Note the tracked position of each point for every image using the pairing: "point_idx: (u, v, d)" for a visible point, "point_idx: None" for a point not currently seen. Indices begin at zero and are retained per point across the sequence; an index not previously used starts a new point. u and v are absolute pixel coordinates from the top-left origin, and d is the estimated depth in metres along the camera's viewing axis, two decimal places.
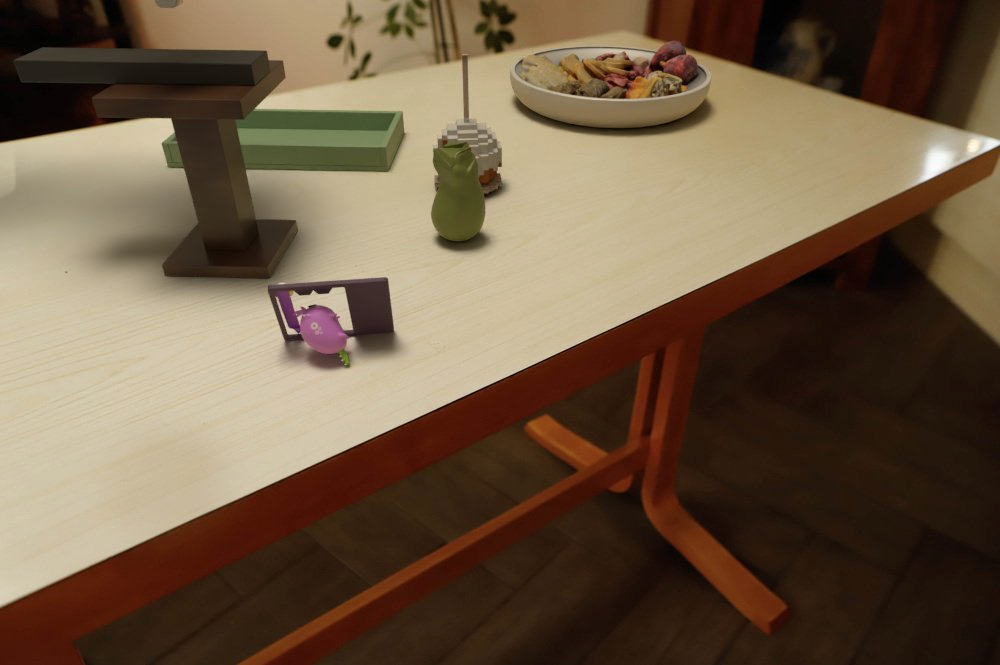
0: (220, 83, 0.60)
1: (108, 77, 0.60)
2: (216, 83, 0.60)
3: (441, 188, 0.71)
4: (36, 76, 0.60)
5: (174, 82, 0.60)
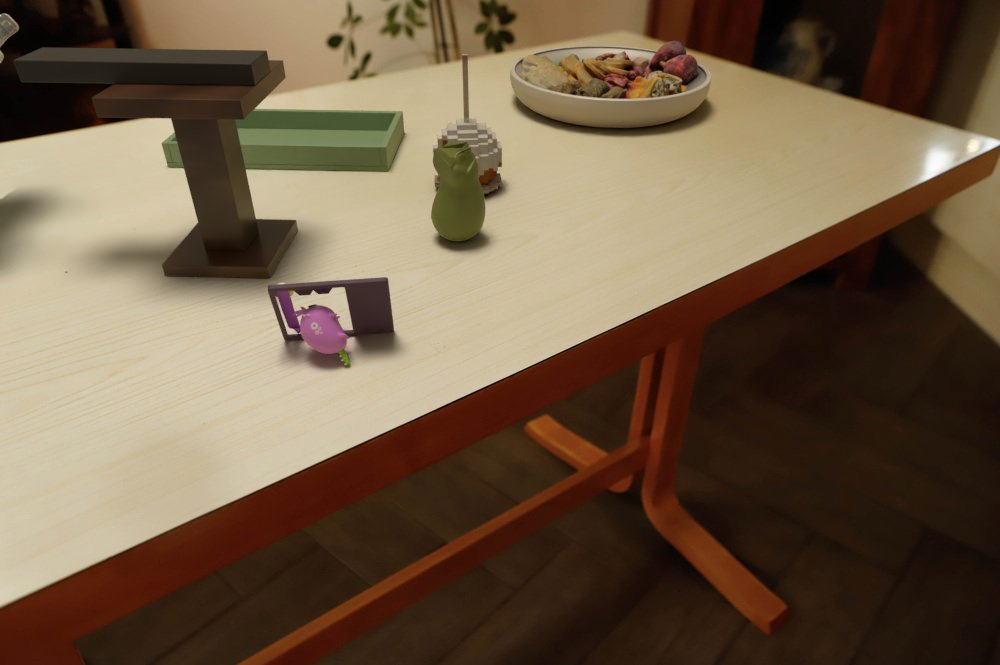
0: (220, 83, 0.60)
1: (108, 77, 0.60)
2: (216, 83, 0.60)
3: (441, 188, 0.71)
4: (36, 76, 0.60)
5: (174, 82, 0.60)
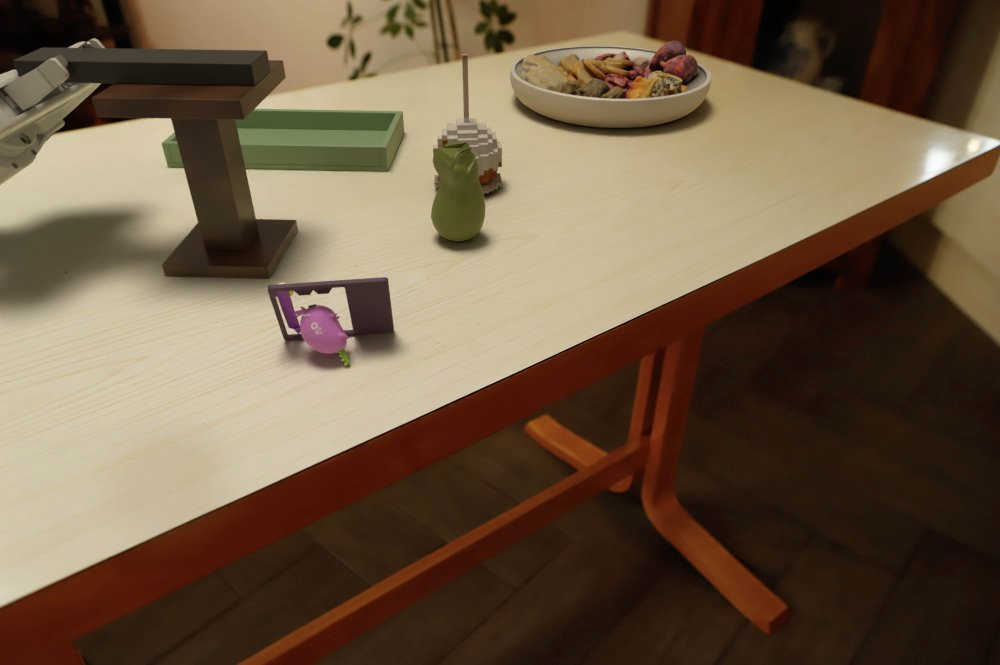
0: (220, 83, 0.60)
1: (108, 77, 0.60)
2: (216, 83, 0.60)
3: (441, 188, 0.71)
4: None
5: (174, 82, 0.60)
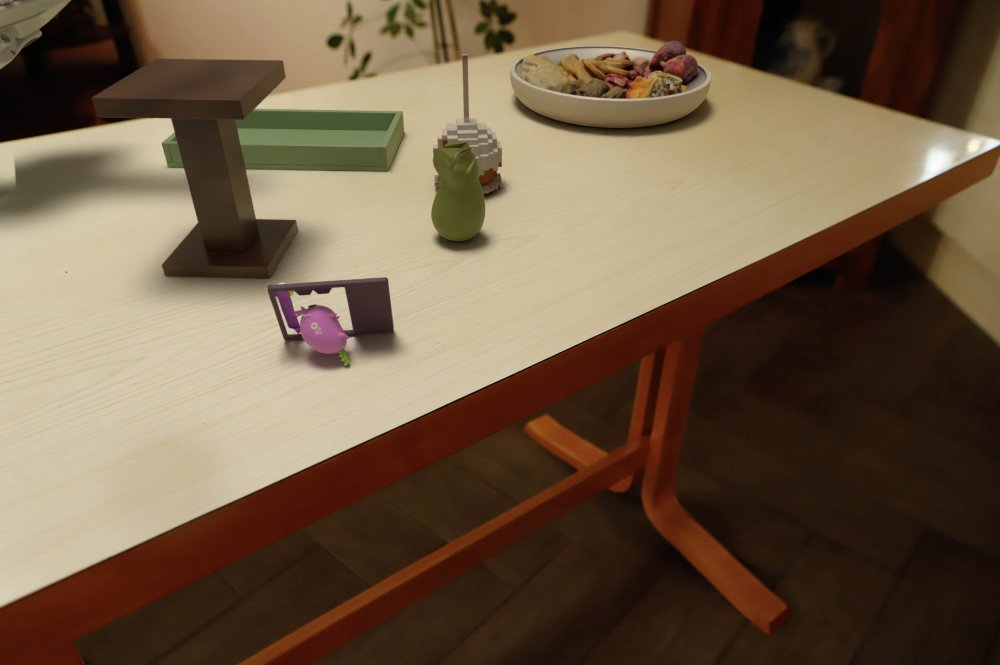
0: None
1: None
2: None
3: (441, 188, 0.71)
4: None
5: None
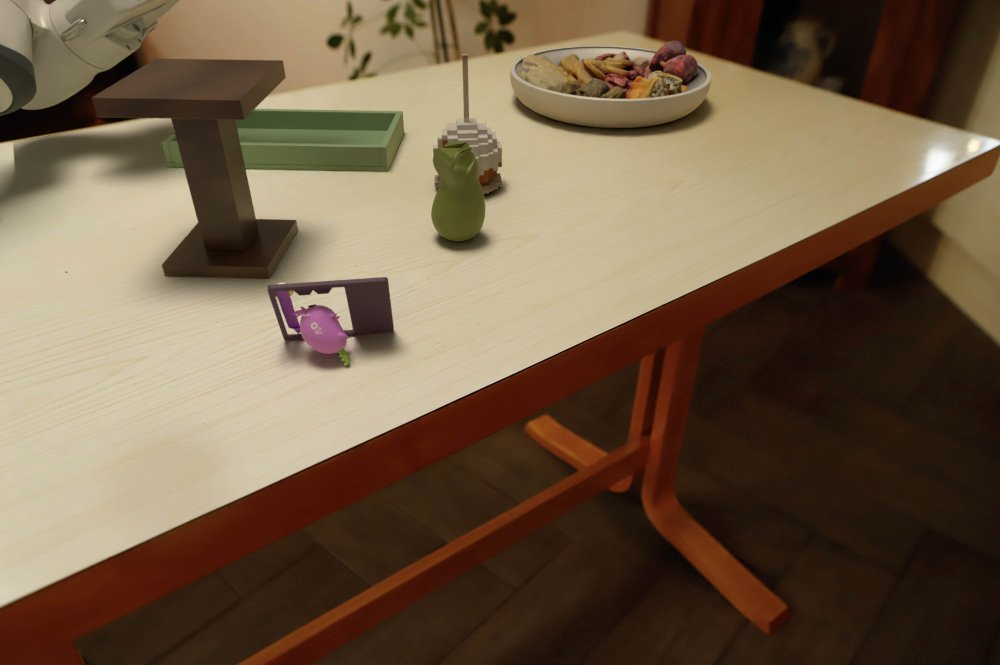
0: None
1: None
2: None
3: (441, 188, 0.71)
4: None
5: None
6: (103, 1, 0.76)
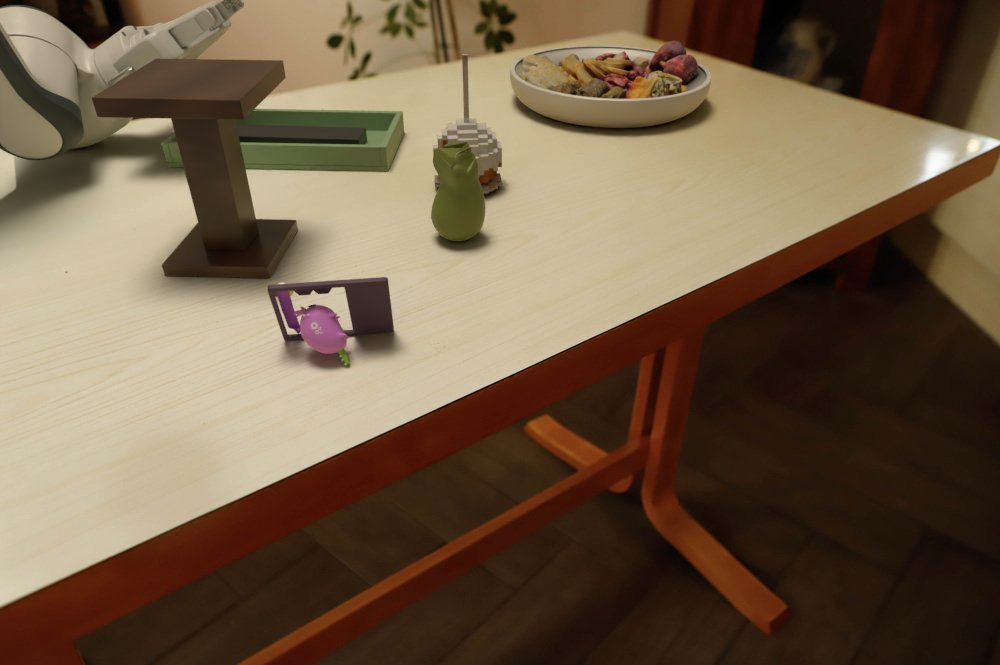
0: None
1: None
2: None
3: (441, 188, 0.71)
4: None
5: None
6: (152, 51, 0.79)
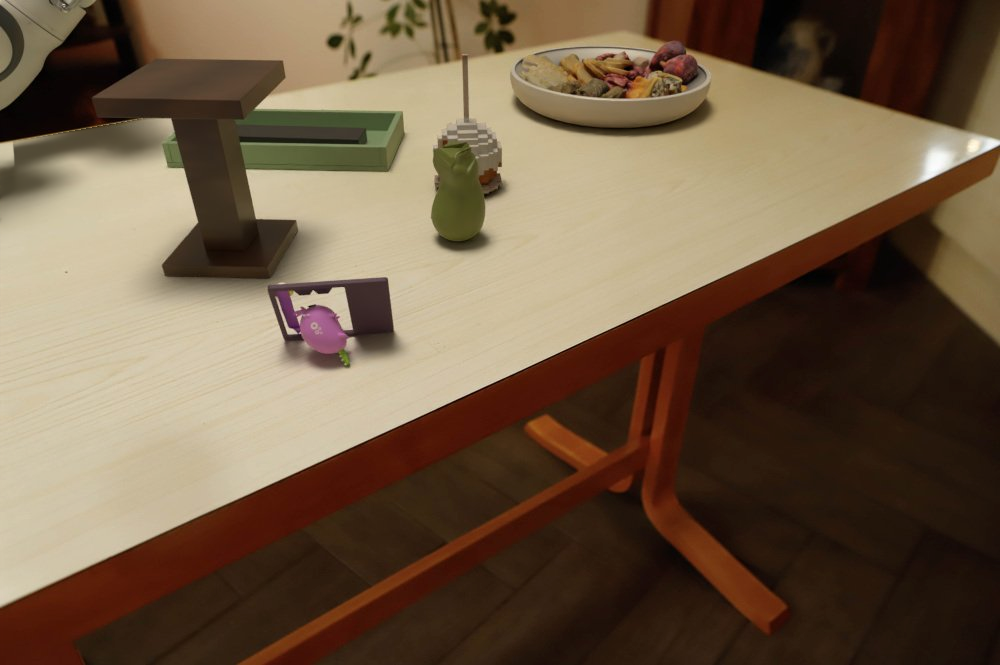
0: None
1: None
2: None
3: (441, 188, 0.71)
4: None
5: None
6: None
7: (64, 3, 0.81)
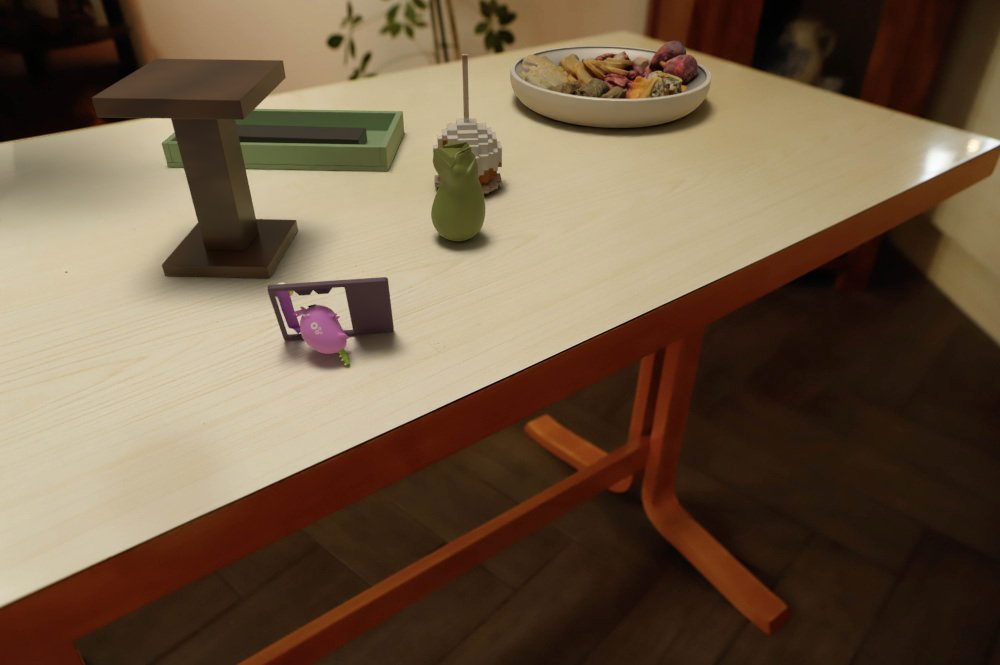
0: None
1: None
2: None
3: (441, 188, 0.71)
4: None
5: None
6: None
7: None
